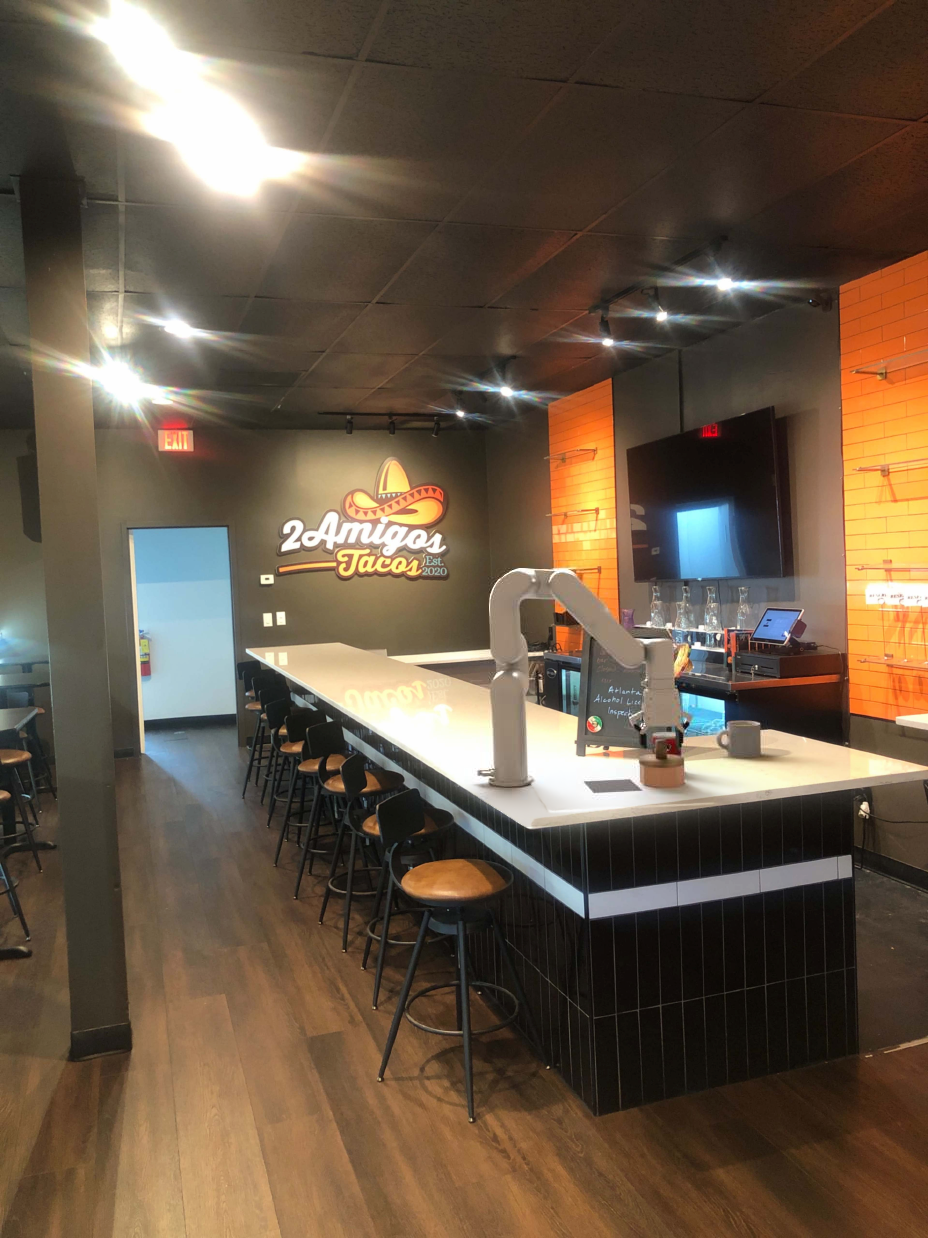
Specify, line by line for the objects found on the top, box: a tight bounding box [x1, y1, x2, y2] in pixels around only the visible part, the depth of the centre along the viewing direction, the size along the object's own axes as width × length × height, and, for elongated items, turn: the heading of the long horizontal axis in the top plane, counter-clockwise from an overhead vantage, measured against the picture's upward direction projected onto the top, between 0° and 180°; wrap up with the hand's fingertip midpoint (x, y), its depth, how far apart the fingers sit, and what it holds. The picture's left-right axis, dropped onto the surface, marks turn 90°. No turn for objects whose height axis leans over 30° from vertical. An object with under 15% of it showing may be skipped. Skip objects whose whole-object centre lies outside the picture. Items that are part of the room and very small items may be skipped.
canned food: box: [652, 731, 682, 757], centre depth 260 cm, size 8×8×11 cm
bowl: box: [639, 763, 686, 788], centre depth 245 cm, size 11×11×6 cm
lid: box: [638, 739, 685, 768], centre depth 244 cm, size 12×12×6 cm
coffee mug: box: [716, 720, 762, 759], centre depth 280 cm, size 13×10×10 cm
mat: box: [583, 778, 643, 794], centre depth 243 cm, size 13×13×1 cm
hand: (661, 747), depth 244 cm, fingers open, 9 cm apart
